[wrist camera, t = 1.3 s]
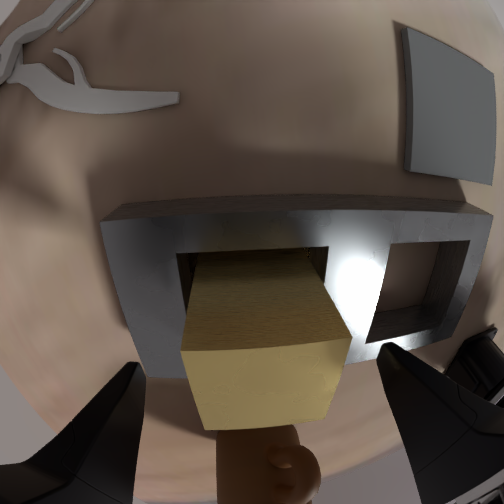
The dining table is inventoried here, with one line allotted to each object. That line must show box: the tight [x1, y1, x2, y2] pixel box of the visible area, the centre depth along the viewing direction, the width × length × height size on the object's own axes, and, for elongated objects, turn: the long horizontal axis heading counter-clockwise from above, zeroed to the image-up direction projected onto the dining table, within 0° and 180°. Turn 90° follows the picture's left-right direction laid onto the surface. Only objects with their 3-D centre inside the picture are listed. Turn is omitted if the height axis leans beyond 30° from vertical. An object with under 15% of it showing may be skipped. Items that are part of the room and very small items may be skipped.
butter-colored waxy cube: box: [180, 247, 353, 430], centre depth 11 cm, size 5×5×7 cm
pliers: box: [0, 0, 180, 114], centre depth 7 cm, size 10×2×15 cm
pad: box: [401, 27, 496, 186], centre depth 10 cm, size 8×8×1 cm
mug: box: [216, 424, 321, 504], centre depth 16 cm, size 12×8×9 cm, turn 161°
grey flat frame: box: [100, 194, 493, 378], centre depth 13 cm, size 20×9×2 cm, turn 91°
